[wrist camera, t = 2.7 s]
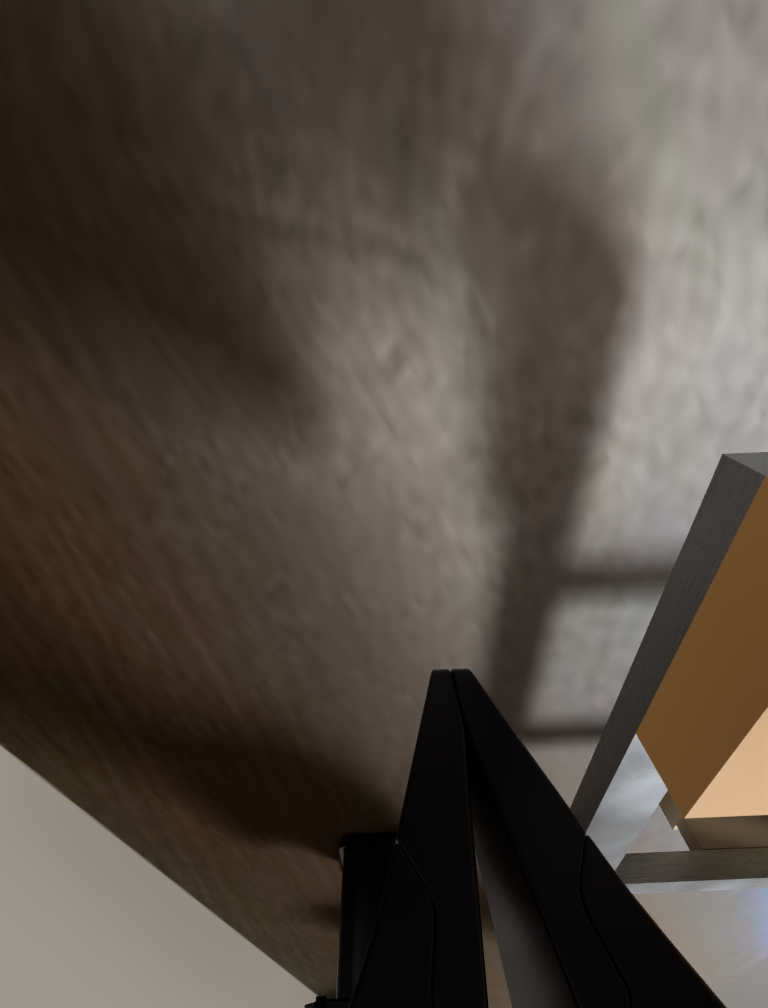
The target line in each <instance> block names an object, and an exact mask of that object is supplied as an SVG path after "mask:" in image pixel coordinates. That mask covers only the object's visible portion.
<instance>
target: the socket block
mask: <svg viewBox="0 0 768 1008" xmlns="http://www.w3.org/2000/svg"><path fill="white" fill-rule="evenodd" d="M659 805H660V807H661V809H662V811H663V812H664V814H665V816H666V818H667V820H668V822H669V824H670V825H671V827H672V829H679V831H680V833H681V835H682V836H683V838H684V840H685V842H686V844H687V846H688V847H689V849H690V851H699V850H722V849H745V848H768V815H753V816H729V817H706V818H684V817H683V816H682V814H681V812H680V810H679V809H678V807H677V805H676V803H675V802H674V800H673V798H672V796H671V795H670V793H669V791H667V792H666V794H665V795H664V797H663V798H662V800H661V801H660V803H659Z"/></svg>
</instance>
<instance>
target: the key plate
mask: <svg viewBox="0 0 768 1008" xmlns="http://www.w3.org/2000/svg"><path fill="white" fill-rule="evenodd" d="M667 791H669V793H670V795H671V796H672V798H673V800H674V802H675V803H676V805H677V807H678V809H679V810H680V812H681V814H682V816H683V817H684V818H706V817H729V816H753V815H768V452H760V453H733V454H722V456H721V459H720V461H719V463H718V466H717V468H716V470H715V473H714V475H713V477H712V480H711V482H710V484H709V487H708V489H707V491H706V494H705V496H704V498H703V501H702V503H701V505H700V508H699V510H698V512H697V515H696V517H695V519H694V522H693V524H692V526H691V529H690V531H689V533H688V536H687V538H686V540H685V543H684V545H683V547H682V549H681V552H680V554H679V556H678V559H677V561H676V563H675V566H674V568H673V570H672V573H671V575H670V577H669V580H668V582H667V584H666V587H665V589H664V591H663V594H662V596H661V598H660V601H659V603H658V605H657V608H656V610H655V612H654V615H653V617H652V619H651V622H650V624H649V626H648V629H647V631H646V633H645V636H644V638H643V640H642V643H641V645H640V647H639V649H638V652H637V654H636V656H635V659H634V661H633V663H632V666H631V668H630V670H629V673H628V675H627V677H626V680H625V682H624V684H623V687H622V689H621V691H620V694H619V696H618V698H617V701H616V703H615V705H614V708H613V710H612V712H611V715H610V717H609V719H608V722H607V724H606V726H605V729H604V731H603V733H602V736H601V738H600V740H599V743H598V745H597V747H596V749H595V752H594V754H593V756H592V759H591V761H590V763H589V766H588V768H587V770H586V773H585V775H584V777H583V780H582V782H581V784H580V787H579V789H578V791H577V794H576V796H575V798H574V801H573V803H572V805H571V808H570V810H571V811H572V812H573V814H574V815H575V817H576V818H577V819H578V821H579V822H580V824H581V825H582V826H583V828H584V829H585V831H586V835H589V836H590V837H591V839H592V840H593V841H594V843H595V844H596V846H597V847H598V848H599V850H600V851H601V853H602V854H603V855H604V857H605V858H606V860H607V861H608V862H609V864H610V865H611V866H612V868H613V869H614V870H615V872H616V873H617V874H618V876H619V877H620V878H621V880H622V881H623V882H624V884H625V885H626V886H627V888H628V889H629V890H630V892H631V893H632V894H644V893H666V892H689V891H712V890H734V889H757V888H768V848H745V849H722V850H699V851H676V852H653V853H630V854H626V853H627V851H628V850H629V848H630V847H631V845H632V844H633V842H634V841H635V839H636V838H637V836H638V835H639V833H640V832H641V830H642V829H643V827H644V826H645V824H646V823H647V821H648V819H649V818H650V816H651V815H652V813H653V812H654V810H655V809H656V807H657V806H658V804H659V803H660V801H661V800H662V798H663V797H664V795H665V794H666V792H667Z"/></svg>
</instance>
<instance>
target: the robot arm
mask: <svg viewBox="0 0 768 1008" xmlns="http://www.w3.org/2000/svg"><path fill="white" fill-rule="evenodd" d="M474 845H475V846H474ZM475 849H476V854H477V858H478V862H479V867H480V871H481V875H482V879H483V884H484V888H485V892H486V896H487V901H488V905H489V909H490V914H491V918H492V922H493V926H494V931H495V935H496V939H497V943H498V948H499V952H500V956H501V960H502V965H503V969H504V973H505V978H506V982H507V986H508V990H509V995H510V999H511V1003H512V1007H513V1008H726V1007H725V1005H724V1004H723V1003H722V1002H721V1001H720V999H719V998H718V997H717V996H716V995H715V993H714V992H713V991H712V990H711V989H710V987H709V986H708V985H707V984H706V983H705V981H704V980H703V979H702V978H701V977H700V976H699V974H698V973H697V972H696V971H695V970H694V968H693V967H692V966H691V965H690V964H689V962H688V961H687V960H686V959H685V958H684V956H683V955H682V954H681V953H680V952H679V950H678V949H677V948H676V947H675V946H674V945H673V943H672V942H671V941H670V940H669V939H668V937H667V936H666V935H665V934H664V932H663V931H662V930H661V929H660V928H659V926H658V925H657V924H656V923H655V921H654V920H653V919H652V918H651V916H650V915H649V914H648V913H647V912H646V910H645V909H644V908H643V907H642V905H641V904H640V903H639V902H638V900H637V899H636V898H635V897H634V896H633V894H632V893H631V892H630V890H629V889H628V888H627V886H626V885H625V884H624V882H623V881H622V880H621V878H620V877H619V876H618V874H617V873H616V872H615V870H614V869H613V868H612V866H611V865H610V864H609V862H608V861H607V860H606V858H605V857H604V855H603V854H602V853H601V851H600V850H599V848H598V847H597V846H596V844H595V843H594V841H593V840H592V839H591V837H590V836H589V835H586V831H585V829H584V828H583V826H582V825H581V824H580V822H579V821H578V819H577V818H576V817H575V815H574V814H573V812H572V811H571V810H570V808H569V807H568V805H567V804H566V803H565V801H564V800H563V798H562V797H561V796H560V794H559V793H558V791H557V790H556V789H555V787H554V786H553V785H552V783H551V782H550V780H549V779H548V778H547V776H546V775H545V773H544V772H543V771H542V769H541V768H540V766H539V765H538V764H537V762H536V761H535V759H534V758H533V757H532V755H531V754H530V752H529V751H528V750H527V748H526V747H525V746H524V744H523V743H522V741H521V740H520V739H519V737H518V736H517V734H516V733H515V732H514V730H513V729H512V727H511V726H510V725H509V723H508V722H507V720H506V719H505V718H504V716H503V715H502V713H501V712H500V711H499V709H498V708H497V706H496V705H495V704H494V702H493V701H492V700H491V698H490V697H489V695H488V694H487V693H486V691H485V690H484V688H483V687H482V686H481V684H480V683H479V681H478V680H477V679H476V677H475V676H474V674H473V673H472V672H471V671H470V670H469V669H466V668H465V669H452V670H451V672H450V670H448V669H440V670H433V671H432V673H431V677H430V681H429V686H428V691H427V695H426V700H425V705H424V709H423V714H422V719H421V723H420V728H419V733H418V737H417V742H416V747H415V751H414V756H413V761H412V766H411V770H410V775H409V780H408V784H407V789H406V794H405V798H404V803H403V808H402V812H401V817H400V822H399V826H398V831H397V836H385V837H362V838H344V839H341V840H340V845H339V851H340V856H341V861H342V866H343V871H342V891H341V910H340V930H339V950H338V969H337V989H336V998H334V999H327V996H317V997H316V1002H314V1003H310V1004H307V1005H305V1008H488V996H487V985H486V973H485V962H484V950H483V938H482V927H481V915H480V904H479V892H478V880H477V869H476V857H475Z"/></svg>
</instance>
